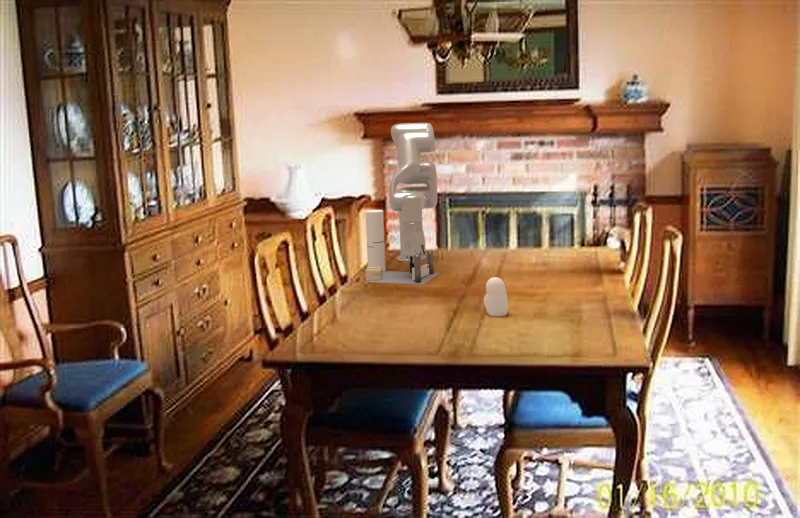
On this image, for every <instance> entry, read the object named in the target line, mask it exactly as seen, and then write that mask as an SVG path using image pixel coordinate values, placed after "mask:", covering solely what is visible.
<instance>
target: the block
mask: <svg viewBox="0 0 800 518" xmlns="http://www.w3.org/2000/svg"><path fill="white" fill-rule="evenodd" d="M364 271H365V272H364V273H365V281H369V280H381V279H382V277H383V276H382V273H383V271H382V267H368V266H367V267H366V269H364Z"/></svg>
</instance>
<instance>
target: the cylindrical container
mask: <svg viewBox="0 0 800 518" xmlns="http://www.w3.org/2000/svg"><path fill="white" fill-rule="evenodd" d="M364 212H365V233H366V234H365V235H366V255H367V257H366V259H367V267H382V272H384V271H386V250H385V248H386V247H385V226H384V224H385V223H384V210H382V209H368V210H365V211H364Z"/></svg>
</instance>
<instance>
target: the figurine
mask: <svg viewBox="0 0 800 518" xmlns="http://www.w3.org/2000/svg"><path fill="white" fill-rule="evenodd" d="M485 289H486V294H485V296H484V297H483V303H484V308H485V309H486V312H487V314H488V315H489V316H491V317H504V316H506V315H507V314H508V311H509V310H508V309H509V301H508V294H507V289H506V286H505V282H504V280H502V279H501V278H500V277H495V276H494V277H490V278H489V279H488V280H487V282H486V286H485Z"/></svg>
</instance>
